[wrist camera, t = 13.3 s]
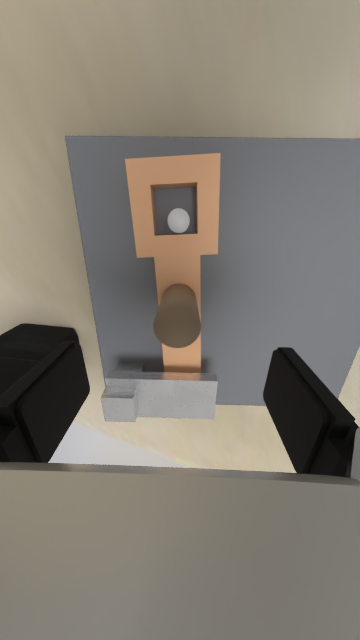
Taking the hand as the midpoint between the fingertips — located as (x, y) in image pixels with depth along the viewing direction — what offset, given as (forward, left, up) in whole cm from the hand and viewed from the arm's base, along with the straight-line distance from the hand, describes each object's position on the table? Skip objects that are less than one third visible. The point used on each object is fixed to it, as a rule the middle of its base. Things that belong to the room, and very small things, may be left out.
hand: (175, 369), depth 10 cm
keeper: (+10, -2, -13) cm, 16 cm away
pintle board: (+1, +5, -13) cm, 14 cm away
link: (-1, 0, -12) cm, 12 cm away
